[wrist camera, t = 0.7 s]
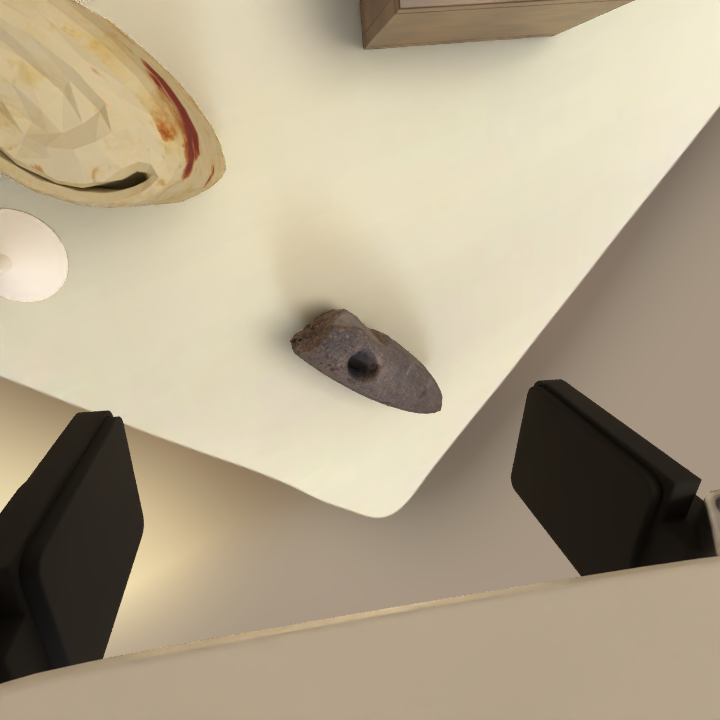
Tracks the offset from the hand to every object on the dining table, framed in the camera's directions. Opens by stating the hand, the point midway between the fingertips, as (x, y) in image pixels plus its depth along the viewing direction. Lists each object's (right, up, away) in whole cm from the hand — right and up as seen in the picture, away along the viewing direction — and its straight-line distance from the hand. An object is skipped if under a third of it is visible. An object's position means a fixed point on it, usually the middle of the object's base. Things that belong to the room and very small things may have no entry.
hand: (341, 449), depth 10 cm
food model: (-13, +18, +21) cm, 30 cm away
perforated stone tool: (+1, +3, +31) cm, 31 cm away
